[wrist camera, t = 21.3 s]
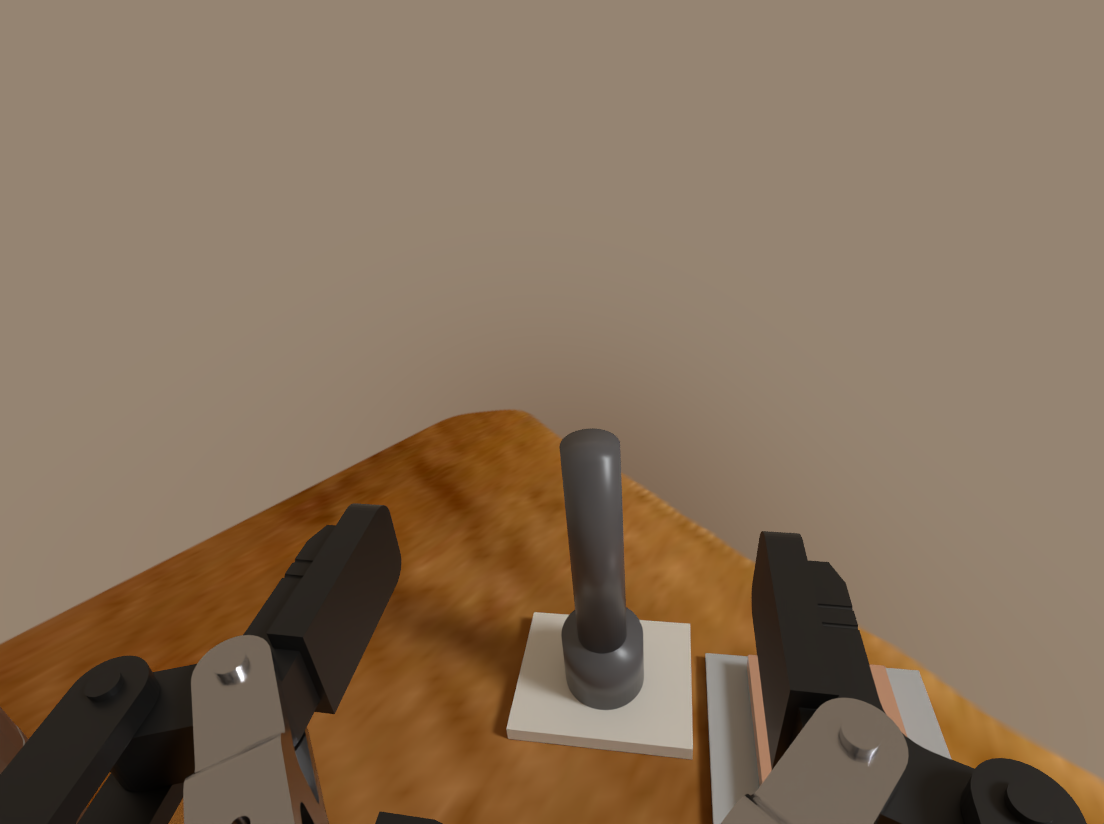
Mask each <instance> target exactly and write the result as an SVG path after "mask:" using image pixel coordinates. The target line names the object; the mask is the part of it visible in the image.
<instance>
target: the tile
mask: <svg viewBox="0 0 1104 824" xmlns="http://www.w3.org/2000/svg"><path fill="white" fill-rule="evenodd" d="M870 669H871V672H872V676H873V679H874V683H875V686H876V689H877V693H878V696H879V700H880V702H881V705H882V707H883V709H884V711H885V713H886V715H887V716H889V717H890V718H891V719H892V720H893V721H894V723H895V724H896V725H897V726H898V727H899V729H900V731H901V732H902V733H903V734H904V735H905V736H906V737H907V734H906V731H905V728H904V724H903V721H902V718H901V715H900V712H899V709H898V706H897V703H896V700H895V696H894V693H893V690H892V687H891V684H890V681H889V678H888V675H887V671H886V668H885V666H880V665H870ZM746 672H747V681H748V690H749V700H750V709H751V719H752V728H753V737H754V747H755V756H756V766H757V775H758V784H759V787H760V786H761V784H762V783H763V782H764V780H765V779H766V778H767V776H768V775H769V774H770V772H771V771H772V769H771V761H770V753H769V745H768V737H767V729H766V721H765V713H764V705H763V697H762V688H761V680H760V672H759V664H758V656H757V655H748V660H747V669H746Z"/></svg>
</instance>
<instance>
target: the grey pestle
mask: <svg viewBox="0 0 1104 824" xmlns="http://www.w3.org/2000/svg"><path fill="white" fill-rule="evenodd" d="M560 456H561V466H562V477H563V487H564V498H565V508H566V519H567V529H568V539H569V550H570V560H571V571H572V581H573V591H574V602H575V610H574V611H573V612H572V613H571V614H570V615H569V616H568V617H567V619H566V620H565V622H564V624H563V627H562V633H561V637H562V646H563V655H564V663H565V672H566V680H567V685H568V687H569V689H570V691H571V693H572V694H573V696H574V697H575V698H576V699H577V700H578V701H580V702H581V703H582V704H584V705H586V706H588V707H590V708H594V709H598V710H613V709H617V708H620V707H623V706H625V705H627V704H628V703H630V702H631V701H632V700H633V699H635V697H636V696H637V695H638V694H639V692H640V690H641V688H642V685H643V681H644V651H643V628H642V625H641V623H640V621H639V619H638V618H637V616H636V615H635V614H634V613H633V612H632V611H631V610H629V609H628V608H626V599H625V571H624V542H623V514H622V486H621V460H620V441H619V440H618V438H617V437H616V436H615V435H614V434H612V433H610V432H608V431H605V430H601V429H582V430H578V431H575V432H573V433H571V434H569V435H567V436H566V437H565V438H564V439H563V440H562V441H561V443H560Z"/></svg>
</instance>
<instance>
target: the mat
mask: <svg viewBox="0 0 1104 824" xmlns="http://www.w3.org/2000/svg"><path fill="white" fill-rule="evenodd" d="M747 660H748V657H747V656H735V655H722V654H710V653H706V658H705V661H706V683H707V706H708V728H709V750H710V773H711V795H712V818H713V824H721V822H722V821H723V820H724V818H725V817H726V816H727V814H728V813H729V812H730V810H731V809H732V808H733V807H734V805H735V804H736V803H737V802H738V801H739V800H740V799H741V798H742V797H743V796H744V795H746V794H749V795H752V794H754V793H755V792H756V791H757V790H758V788H759V784H758V775H757V766H756V756H755V747H754V737H753V728H752V719H751V709H750V700H749V690H748V681H747V672H746V669H747ZM886 671H887V675H888V678H889V681H890V684H891V687H892V690H893V693H894V696H895V700H896V703H897V706H898V709H899V712H900V715H901V718H902V721H903V724H904V728H905V731H906V734H907V737H908V738H909V739H911V740H912V741H913V742H915V743H916V744H918V745H920V746H921V747H923V748H925V749H927V750H929V751H932V752H934V753H936V754H939V755H941V756H944V757H946V758H949V759H951V757H950V754H949V751H948V749H947V746H946V743H945V740H944V738H943V735H942V732H941V730H940V727H939V724H938V721H937V719H936V716H935V713H934V711H933V708H932V705H931V703H930V700H929V697H928V694H927V692H926V689H925V686H924V684H923V681H922V678H921V676H920V673H919V671H917V670H905V669H893V668H886ZM951 760H952V759H951Z"/></svg>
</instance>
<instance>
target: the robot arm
mask: <svg viewBox="0 0 1104 824" xmlns="http://www.w3.org/2000/svg"><path fill="white" fill-rule="evenodd" d="M400 570H401V554H400V550H399V546H398V542H397V538H396V534H395V531H394V527H393V523H392V519H391V515H390V512H389V509H388V508H387V507H386V506H384V505H369V504H351V505H350V506H349V507H348V508H347V509H346V511H345V512H344V514H343V515H342V517H341V519H340V520H339V522H338V523H337V525H336V526H335V525H327V526H325V527H324V528H323V529H322V530H320V531H319V532H318V533H317V534H315V535H314V536H313V537H312V538H310V539H309V540H308V541H307V542H306V544H305V545H304V547H303V548H302V550H301V551H300V553H299V554H298V556H297V557H296V558H295V563H292V564H291V566H290V567H289V569H288V570H287V572H286V573H285V577H284V578H282V579H281V581H280V582H279V583H278V585H277V586H276V588H275V589H274V591H273V592H272V594H271V595H270V597H269V598H268V600H267V601H266V603H265V604H264V605H263V607H262V608H261V610H260V611H259V613H258V614H257V616H256V617H255V619H254V620H253V622H252V623H251V625H250V626H249V628H248V629H247V630H246V632H245V633H244V634H243V636H238V637H234V638H231V639H228V640H226V641H224V642H222V643H220V644H218V645H217V646H215V647H214V648H212V649H211V650H210V651H209V652H207V653H206V654H205V655H204V656H203V657H202V659H201V660H200V661H199V662H198V664H194V665H189V666H184V667H178V668H173V669H168V670H163V671H157V672H152V671H151V669H150V668H149V666H148V664H147V663H146V662H145V660H143V659H142V658H139V657H137V656H121V657H117V658H113V659H110V660H108V661H105V662H103V663H101V664H99V665H97V666H96V667H94V668H92V669H91V670H89V671H88V672H87V673H85V674H84V675H83V676H82V677H81V678H79V679H78V680H77V681H76V682H75V684H74V685H73V686H72V687H71V688H70V689H69V691H68V692H67V693H66V694H65V695H64V697H63V698H62V699H61V700H60V702H59V703H58V704H57V705H56V707H55V708H54V709H53V710H52V711H51V713H50V714H49V715H48V716H47V718H46V719H45V720H44V721H43V722H42V724H41V725H40V726H39V727H38V729H37V730H36V731H35V732H34V734H33V735H32V736H31V737H30V738H29V739H28V738H27V737H26V736H25V735H24V733H23V732H22V731H21V730H20V729H19V728H18V727H17V726H16V725H15V724H14V722H13V721H12V720H11V719H10V718H9V717H8V715H7V714H6V713H5V712H4V711H3V710H2V708H1V707H0V824H168V823H169V821H170V820H171V818H172V816H173V814H174V812H175V811H176V809H177V807H178V805H179V804H180V802H181V800H182V798H183V800H184V824H329V821H328V818H327V814H326V810H325V806H324V801H323V796H322V792H321V787H320V782H319V778H318V773H317V768H316V764H315V759H314V754H313V750H312V745H311V740H310V736H309V732H308V729H307V725H308V723H309V721H310V719H311V717H312V715H313V713H314V712H321V713H330V714H335V712H336V710H337V708H338V706H339V704H340V701H341V699H342V697H343V695H344V693H345V691H346V689H347V687H348V685H349V683H350V681H351V678H352V676H353V674H354V672H355V670H356V668H357V666H358V664H359V662H360V660H361V658H362V655H363V653H364V651H365V649H366V647H367V645H368V643H369V641H370V639H371V637H372V634H373V632H374V630H375V628H376V626H377V624H378V622H379V620H380V618H381V616H382V614H383V611H384V609H385V607H386V605H387V603H388V601H389V599H390V597H391V595H392V593H393V591H394V588H395V586H396V584H397V582H398V579H399V575H400ZM752 616H753V624H754V632H755V640H756V648H757V656H758V664H759V672H760V680H761V688H762V697H763V705H764V713H765V721H766V729H767V737H768V745H769V753H770V761H771V769H772V771H771V772H770V774H769V775H768V776H767V778H766V779H765V780H764V782H763V783H762V784H761V786H760V787H759V788H758V790H757V791H756V792H755V793H754V794H752V795H749V794H746V795H744V796H743V797H742V798H741V799H740V800H739V801H738V802H737V803H736V804H735V805H734V807H733V808H732V809H731V810H730V812H729V813H728V814H727V816H726V817H725V818H724V820H723V821H722V822H721V824H1087V823H1086V821H1085V819H1084V816H1083V814H1082V813H1081V811H1080V809H1079V807H1078V806H1077V804H1076V803H1075V801H1074V800H1073V799H1072V797H1071V796H1070V795H1069V794H1068V793H1067V792H1066V791H1065V790H1064V789H1063V788H1062V787H1061V786H1060V785H1059V784H1058V783H1057V782H1056V781H1054V780H1053V779H1052V778H1050V777H1049V776H1048V775H1046V774H1045V773H1043V772H1041V771H1040V770H1038V769H1036V768H1034V767H1032V766H1030V765H1028V764H1025V763H1022V762H1020V761H1016V760H1012V759H1004V758H996V759H990V760H986V761H984V762H982V763H981V764H979V765H978V766H977V767H976V768H975V769H974V768H971V767H969V766H966V765H964V764H961V763H959V762H956V761H954V760H951V759H949V758H946V757H944V756H941V755H939V754H936V753H934V752H932V751H929V750H927V749H925V748H923V747H921V746H920V745H918V744H916V743H915V742H913V741H912V740H911V739H909V738H908V737H906V736H905V735H904V734H903V733H902V732H901V731H900V729H899V727H898V726H897V725H896V724H895V723H894V721H893V720H892V719H891V718H890V717H889V716H887V715H886V713H885V711H884V709H883V707H882V705H881V702H880V700H879V696H878V693H877V689H876V686H875V683H874V679H873V676H872V672H871V669H870V665H869V662H868V658H867V655H866V652H865V648H864V645H863V641H862V638H861V634H860V631H859V630H858V624H857V621H856V617H855V614H854V611H852V604H851V600H850V597H849V593H848V590H847V586H846V583H845V582H844V581H843V579H842V578H841V577H840V576H839V575H838V573H837V572H836V571H835V570H834V568H833V567H832V566H831V565H830V563H829V562H819V561H807V556H806V552H805V548H804V544H803V540H802V537H801V535H800V534H797V533H781V532H766V531H762V532H761V534H760V538H759V544H758V551H757V557H756V564H755V570H754V577H753V583H752ZM109 772H111V774H110V776H109V777H108V779H107V780H106V781H105V783H104V784H103V786H102V787H101V789H100V790H99V792H98V793H97V795H96V796H95V798H94V799H93V801H92V802H91V804H90V805H89V807H88V808H86V806H87V804H88V803H89V801H90V800H91V798H92V797H93V795H94V794H95V793H96V791H97V790H98V788H99V787H100V785H101V784H102V782H103V781H104V779H105V778H106V776H107V775H108V773H109ZM375 824H442V823H440V822H438V821H436V820H433V819H426V818H420V817H413V816H406V815H400V814H393V813H386V812H379V815H378V818H377V820H376V823H375Z"/></svg>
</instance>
